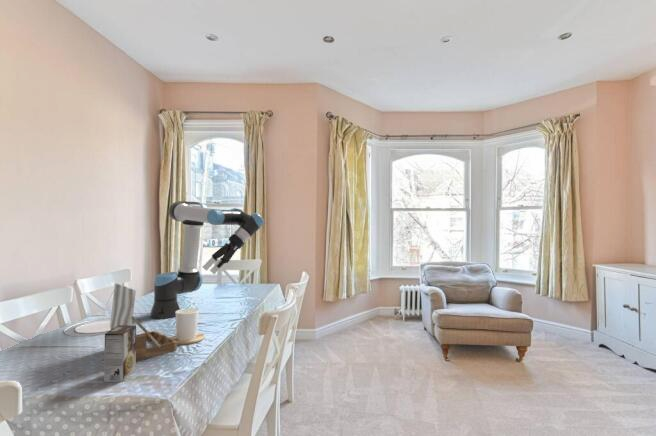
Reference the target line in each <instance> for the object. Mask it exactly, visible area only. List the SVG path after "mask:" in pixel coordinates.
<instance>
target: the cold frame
mask: <svg viewBox="0 0 656 436" xmlns="http://www.w3.org/2000/svg"><path fill="white" fill-rule="evenodd" d="M136 291H137V290H136V289H134V288H131V287H128V286H125V285H122V284H119V283H117V282H115V283H114V287H113V296H112V306H111V315H110V318H111V319H110V320H109V321H110V328H111V330H112V329H113V328H115V327H117V326H119V325H130V326H133V321H134V323H135V324H136V326H138V327H139V328H140V329H141V330H142V331H143V332H142V333H139V334H138V333H137V334H136V362H138V361H143V360H145V359H149V358H153V357H156V356H160V355H163V354H164V355H165V354H168V353H172V352H174V351H177V350H178V347H177V346H178V345H177V341H175V340H173V339H171V337H169V336H167V335H165V334H163V333H161V332H159V331H157V330H152V331H148V330H147V329H146V328H145V326H143V325H142V323H140V321H139V320H137V318H136V317H135V316H134V310H135V308H134V307H135V301H136ZM149 341H152V342H153V343H154V344H155V346H151V347H147V342H149Z"/></svg>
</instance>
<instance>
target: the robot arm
mask: <svg viewBox="0 0 656 436" xmlns="http://www.w3.org/2000/svg"><path fill="white" fill-rule="evenodd" d="M167 211H168V216H169V217H170V218H171V219H172V220H173V221H176V222H182V225H183V226H184V233H183V245H182V255H181V267H179V268H178V269H177V272H176V271H168V272H162V273H159V274H157V275H156V276H155V277H154V283H153V285H154V288H153V289H154V293H153V295H154V299H153V305H152V307H151V310H150V314H149V315H150V316H149V317H150V318H152V319H159V320H160V319H170V318H176V314H175V312H176V311H177V310H180V306H179V302H178V295H181V294H182V295H183V294H187V293H193V292H196V291H198V290H199V289H200V288H201V287H202V285H203V279H204V278H203V276H202V273H201V272H200V270H199V268H198V267H197V266H198V257H199V249H200V239H201V238H200V236H201V229H202V227H203V226H204V223H206V224H209V225H213V226H236V225H237V226H239V227H238V228H237V229H236V230H235V231H234V233H232V234H231V235H230V236H229V238H228V241H229V243H227V242H226V243H225V244H224V245H223V246H221V247H220V248H219V249H218V250H217V251H215V252H214V253H213V254H212V255H211V258H210V259H208V260H207V262H205V263H204V265H203V266H202V268H203V269H204V270H205V271H208V270H209V269H210V270H209V271H210V272H211V273H212V274H213V275H216V274H217V272H218V271H220V269H221V268H223V266H224V265H225V264H228V263H229V262H230V261H231V259H232V258H233V256H234V255H235V254H236V252H237V251H238V250H239V249H241V248H242V247H243V246H244V245H245V244H246V243H247V242H249V241H250V238H252V236H254V234H255V233H257V231H259V230H260V229H261V228H262V226H263V225H264V223H265V220H264V218H263V217H262V215H260V214H259V213H257V212H254V213H252V214H250V213H249V214H248V213H247V212H245V211H243V210H242V209H240V208H237V207H234V208H231V209H218V208H211V207H210V208H209V207H207V205H206V204H205V203H203V202H199V201H185V200H178V201H175V202H172V204H171V203H170V205H169V207H168V210H167ZM218 259H219V260H218ZM215 262H216V263H215ZM211 267H212V268H211Z"/></svg>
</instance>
